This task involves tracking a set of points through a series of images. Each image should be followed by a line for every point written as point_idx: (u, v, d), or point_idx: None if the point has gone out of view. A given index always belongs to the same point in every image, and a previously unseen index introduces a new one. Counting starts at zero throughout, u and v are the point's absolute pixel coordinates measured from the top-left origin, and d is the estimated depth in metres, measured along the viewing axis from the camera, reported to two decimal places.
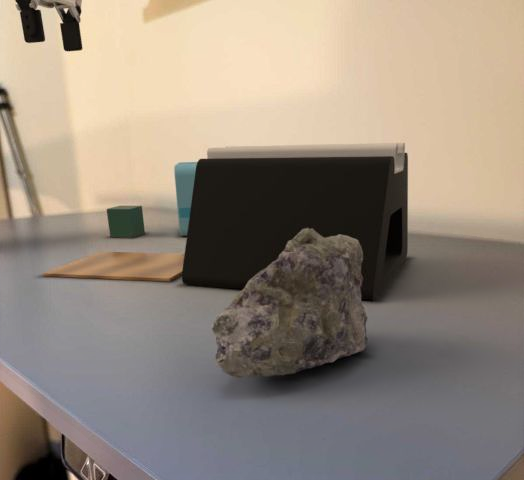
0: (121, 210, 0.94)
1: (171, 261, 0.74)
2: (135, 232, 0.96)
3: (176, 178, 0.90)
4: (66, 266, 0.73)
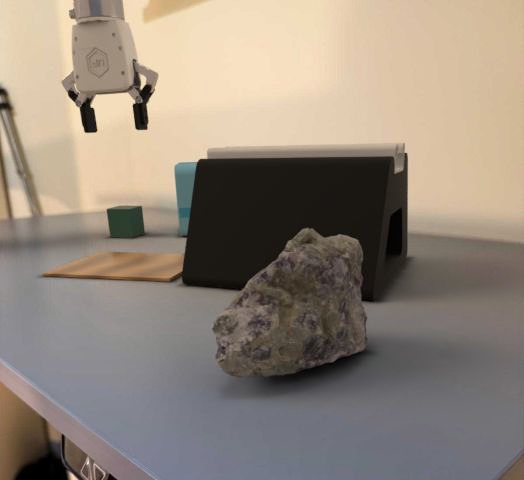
0: (121, 210, 0.94)
1: (171, 261, 0.74)
2: (135, 232, 0.96)
3: (176, 178, 0.90)
4: (66, 266, 0.73)
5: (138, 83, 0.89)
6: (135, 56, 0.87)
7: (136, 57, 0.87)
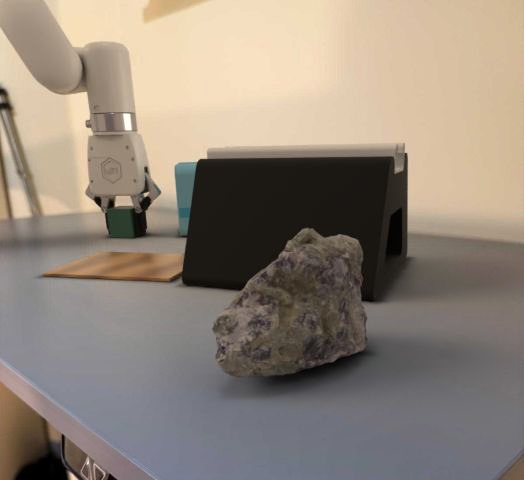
0: (121, 210, 0.94)
1: (171, 261, 0.74)
2: None
3: (176, 178, 0.90)
4: (66, 266, 0.73)
5: None
6: (146, 163, 0.93)
7: (147, 164, 0.93)
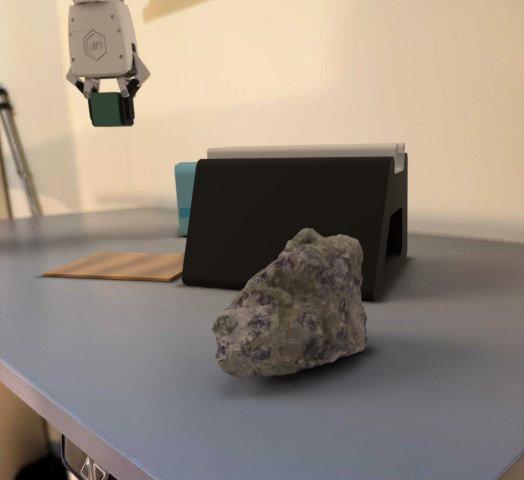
0: (106, 93, 0.85)
1: (171, 261, 0.74)
2: None
3: (176, 178, 0.90)
4: (66, 266, 0.73)
5: None
6: (134, 40, 0.84)
7: (135, 41, 0.84)
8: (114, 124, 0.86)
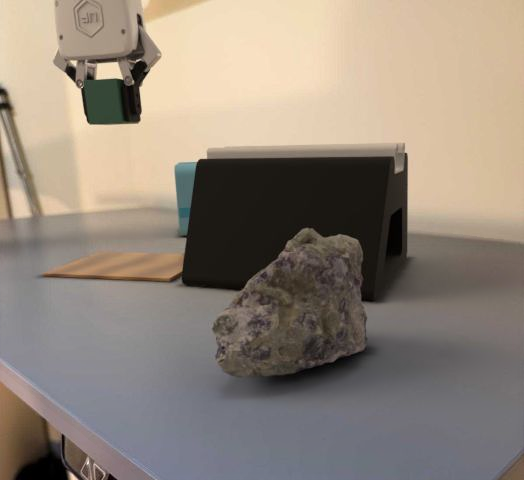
0: (104, 81, 0.65)
1: (171, 261, 0.74)
2: None
3: (176, 178, 0.90)
4: (66, 266, 0.73)
5: None
6: (140, 10, 0.64)
7: (141, 12, 0.64)
8: (115, 121, 0.67)
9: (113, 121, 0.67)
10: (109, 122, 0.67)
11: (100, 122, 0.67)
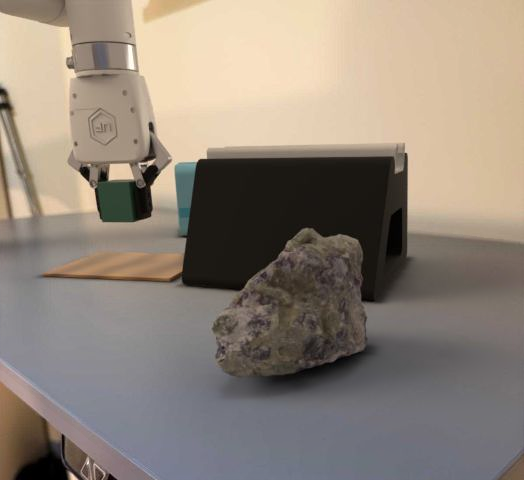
0: (117, 184, 0.68)
1: (171, 261, 0.74)
2: None
3: (176, 178, 0.90)
4: (66, 266, 0.73)
5: None
6: (152, 118, 0.67)
7: (153, 119, 0.67)
8: (127, 220, 0.69)
9: (125, 220, 0.69)
10: (121, 221, 0.70)
11: (113, 220, 0.70)
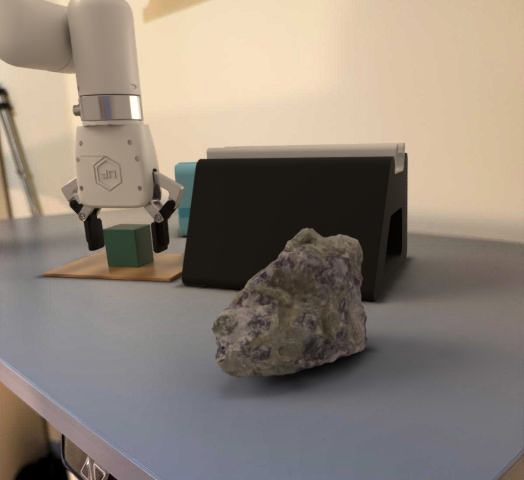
0: (123, 231, 0.70)
1: (171, 261, 0.74)
2: (141, 259, 0.72)
3: (176, 178, 0.90)
4: (66, 266, 0.73)
5: (158, 194, 0.71)
6: (155, 164, 0.69)
7: (156, 165, 0.69)
8: (132, 265, 0.72)
9: (130, 265, 0.72)
10: (127, 266, 0.72)
11: (118, 265, 0.72)
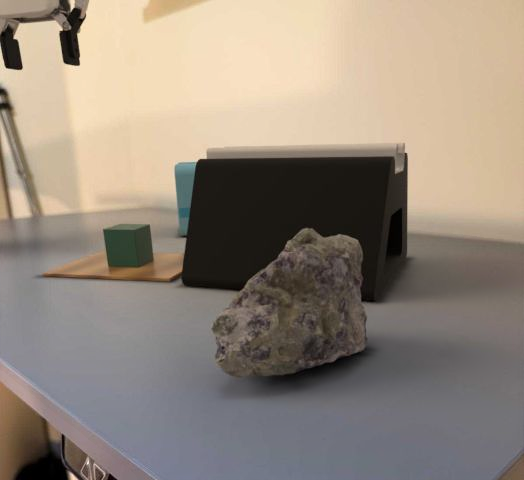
0: (123, 231, 0.70)
1: (171, 261, 0.74)
2: (141, 259, 0.72)
3: (176, 178, 0.90)
4: (66, 266, 0.73)
5: (68, 9, 0.75)
6: None
7: None
8: (132, 265, 0.72)
9: (130, 265, 0.72)
10: (127, 266, 0.72)
11: (118, 265, 0.72)
